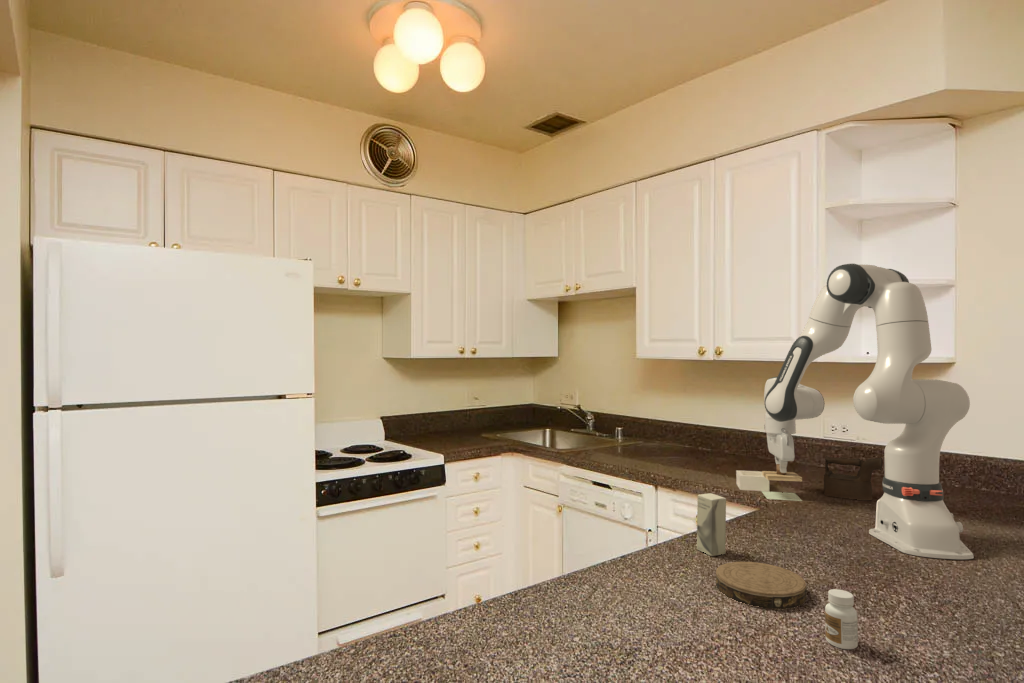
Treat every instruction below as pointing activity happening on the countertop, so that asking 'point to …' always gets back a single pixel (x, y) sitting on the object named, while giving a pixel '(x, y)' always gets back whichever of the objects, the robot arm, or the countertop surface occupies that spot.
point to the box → (711, 524)
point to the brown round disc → (761, 585)
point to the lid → (781, 475)
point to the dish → (751, 481)
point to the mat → (781, 496)
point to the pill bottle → (841, 620)
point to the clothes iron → (850, 478)
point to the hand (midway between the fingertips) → (781, 471)
